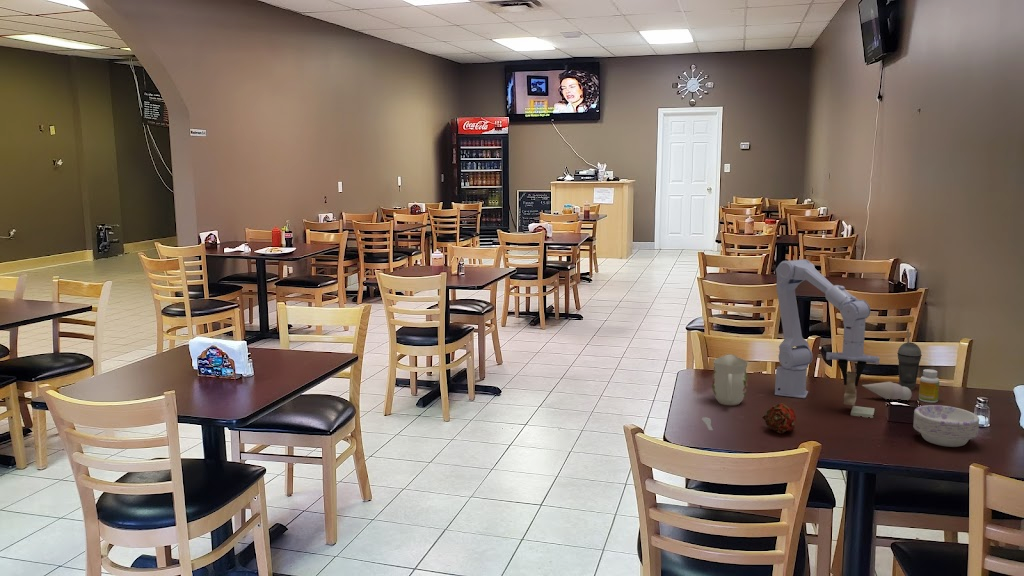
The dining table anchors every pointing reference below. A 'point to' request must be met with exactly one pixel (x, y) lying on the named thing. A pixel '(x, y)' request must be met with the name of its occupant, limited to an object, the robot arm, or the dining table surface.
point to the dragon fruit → (780, 418)
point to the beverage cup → (908, 363)
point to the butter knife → (707, 422)
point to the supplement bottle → (929, 386)
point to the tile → (862, 411)
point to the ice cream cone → (890, 390)
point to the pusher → (850, 389)
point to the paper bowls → (945, 425)
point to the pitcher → (729, 379)
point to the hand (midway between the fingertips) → (850, 384)
